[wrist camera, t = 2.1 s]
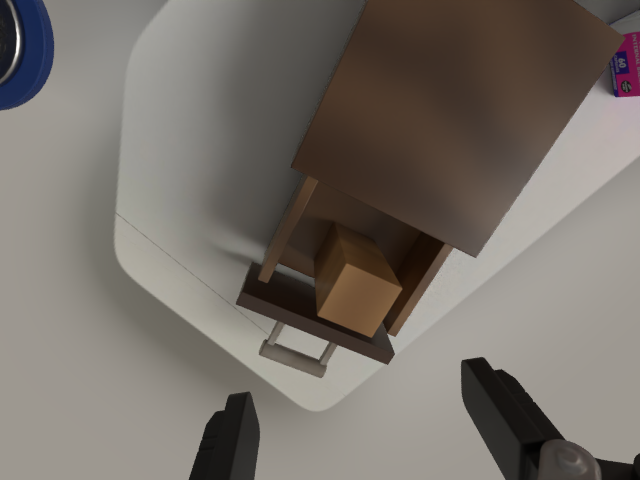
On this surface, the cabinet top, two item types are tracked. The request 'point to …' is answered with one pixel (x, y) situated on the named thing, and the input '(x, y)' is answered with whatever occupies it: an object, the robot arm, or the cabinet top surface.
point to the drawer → (300, 299)
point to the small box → (353, 281)
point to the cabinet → (452, 107)
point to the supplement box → (627, 57)
